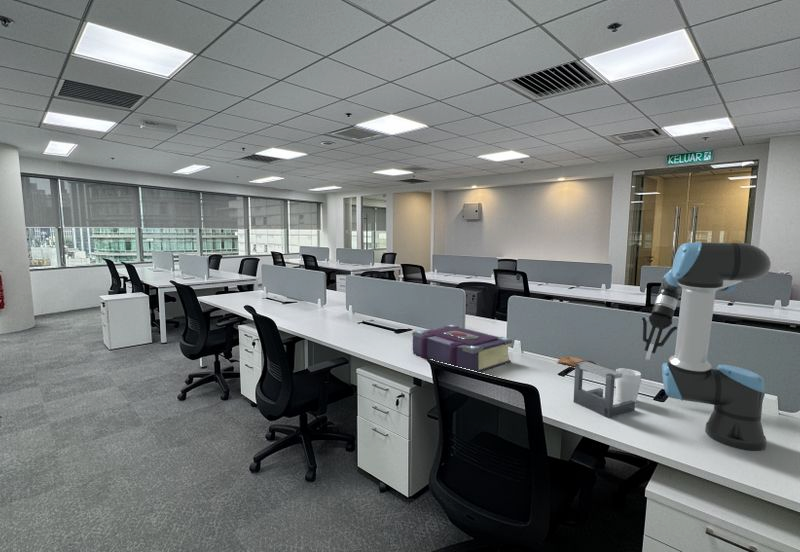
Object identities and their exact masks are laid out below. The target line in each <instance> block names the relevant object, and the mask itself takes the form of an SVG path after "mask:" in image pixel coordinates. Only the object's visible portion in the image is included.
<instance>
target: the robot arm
mask: <svg viewBox="0 0 800 552" xmlns="http://www.w3.org/2000/svg"><path fill="white" fill-rule="evenodd" d="M771 265H772V263H771V259H770V257H769V255H768V254H767V253H766V252H765V251H764V250H763V249H762V248H760V247H758V246H756V245H752V244H749V243H744V242H708V241H706V242H701V241H700V242H699V241H697V242H684V243H682V244H681V245H680V246H679V247H678V248H677V250H676V253H675V256H674V258H673V262H672V268H671V269H670V270H669V271H668V272H667V273H665V274H664V276H663V278H662V281H661V285H660V286H659V291H658V294H657V296H656V298H655V301H654V305H653V307H652V310H651V313H650V315H649V316H648V317H642V318H641V323H642V342H645V343H646V344H645V348H644V351H646V355H645V358H644V360H646V361H650V358H651V355H652V354H655V353H656V352H657V348H658V347H661V348H662V347H664V345H665V344H666V342H667V341H668V340H669V339H670V337H671V335H672V334H674V332H676V331H677V332H676V341H675V342H676V343H675V352H674V355H671V356H669V357H668V362H664V363H662V365H661V375H662V384H663V388H664V389H663V390H664V391H665V394H666V396H667V397H668V398H670V399H675V400H680V401H685V402H693V403H699V404H704V405H705V404H706V405H714V406H713V411H712V413H711V415H710V416H709V419H707V422H706V424H705V428H704V430H705V431H704V432H705V434H706V435H707V436H709V437H710V438H711V439H713V440H715V441H717V442H720V443H722V444H724V445H728V446H731V447H734V448H738V449H742V450H746V451H747V450H748V451H762V450H764V449H766V447H767V437H766V436H765V434H764V430H763V429H764V428H763V425H762V411H763V403H764V402H763V401H764V394H765V381H764V380H765V379H764V378H763V377H762V376H761V375H759V374H758V373H756V372H753V371H751V370H749V369H746V368H742V367H739V366H734V365H729V364H718V365H717V366H716V369H714V368H712V364H711V363H710V362H709V361H708V360H707V359H708V352H709V345H710V338H711V337H710V336H711V330H712V320H713V316H714V315H713V314H714V309H715V307H714V306H715V299H716V293H717V291H718V292H733V291H734V289H735V288H736V286H737V284H738V283H739V284H740V283H741V282H754V281H757V280H760V279H762V278H764V277H765V276H766V275H767V274H768V273H769V271H770V269H771ZM679 299H680V305H679V306H680V307H679V316H678V323H677V326H676V325H674V324H673V318H674V314H675V310H676V308H677V305H678V303H679ZM648 323H650V325H651V330H650V332H649V335H648V338H647V332H648V331H647V329H648ZM667 328H669V330H668V332H667V333H666V334H665V336H664V337H663V338H662V340H661V336H662V335H663V330H665V329H667ZM656 329H658V332H657V335H656V339H655V341H654V344H653V343H651V342H652V340H653V337H654V333H655V331H656ZM660 340H661V342H660Z"/></svg>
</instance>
